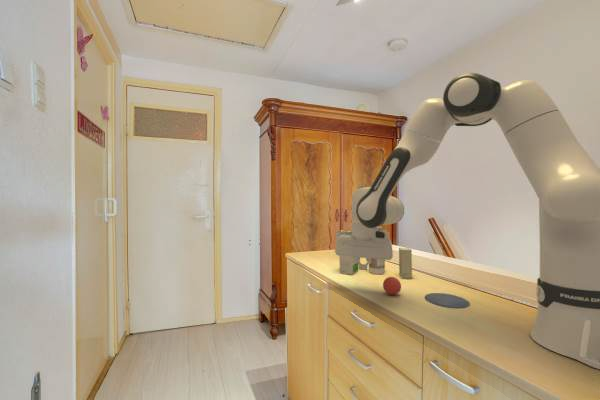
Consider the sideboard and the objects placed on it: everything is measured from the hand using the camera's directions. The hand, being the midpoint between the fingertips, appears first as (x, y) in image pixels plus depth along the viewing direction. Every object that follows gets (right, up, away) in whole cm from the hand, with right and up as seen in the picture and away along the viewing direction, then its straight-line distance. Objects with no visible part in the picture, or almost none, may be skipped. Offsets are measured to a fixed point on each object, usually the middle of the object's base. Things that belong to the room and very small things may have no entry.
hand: (362, 269), depth 100 cm
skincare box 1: (-1, -8, +26) cm, 27 cm away
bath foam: (+12, -8, +25) cm, 29 cm away
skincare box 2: (+22, -8, +18) cm, 30 cm away
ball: (+9, -5, -3) cm, 11 cm away
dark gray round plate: (+25, -8, -9) cm, 28 cm away
